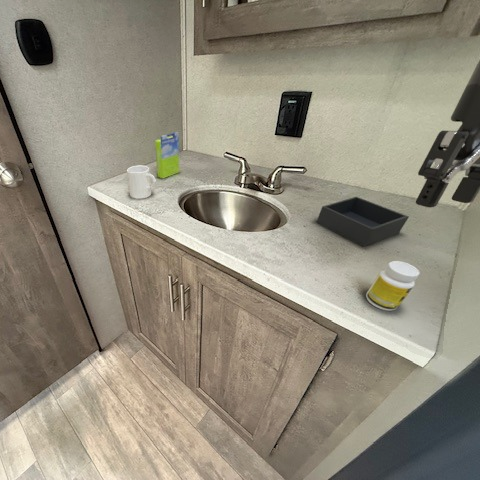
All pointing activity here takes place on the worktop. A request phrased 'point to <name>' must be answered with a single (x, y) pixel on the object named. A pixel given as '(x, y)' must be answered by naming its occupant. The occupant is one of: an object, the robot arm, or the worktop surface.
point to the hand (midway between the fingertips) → (443, 203)
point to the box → (167, 155)
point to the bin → (361, 220)
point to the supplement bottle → (392, 285)
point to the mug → (140, 181)
